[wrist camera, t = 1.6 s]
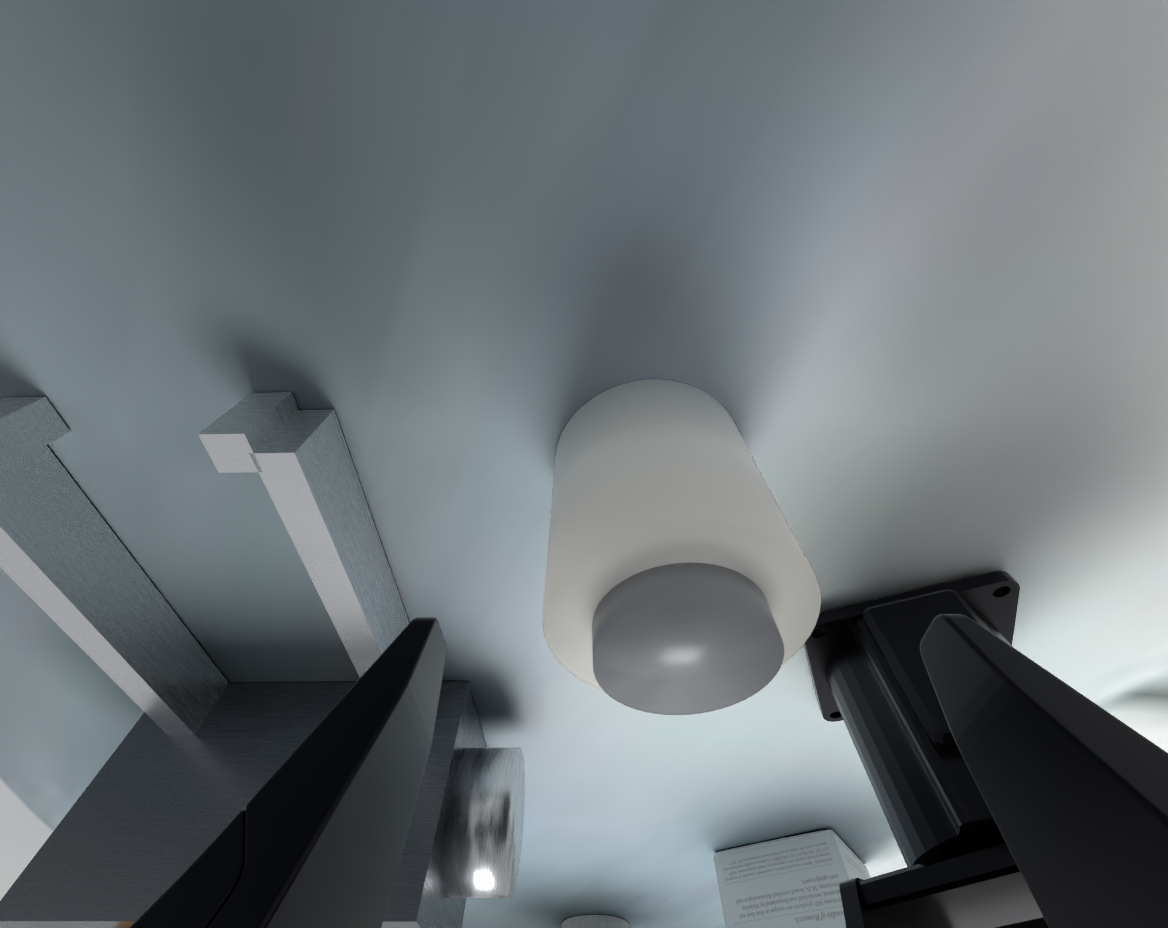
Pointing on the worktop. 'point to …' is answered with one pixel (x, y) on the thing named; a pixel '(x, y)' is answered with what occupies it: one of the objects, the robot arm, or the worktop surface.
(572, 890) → the worktop surface
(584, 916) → the house plant
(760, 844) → the supplement box
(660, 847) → the worktop surface
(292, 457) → the motor clip
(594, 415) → the bottle
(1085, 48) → the worktop surface
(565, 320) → the worktop surface
